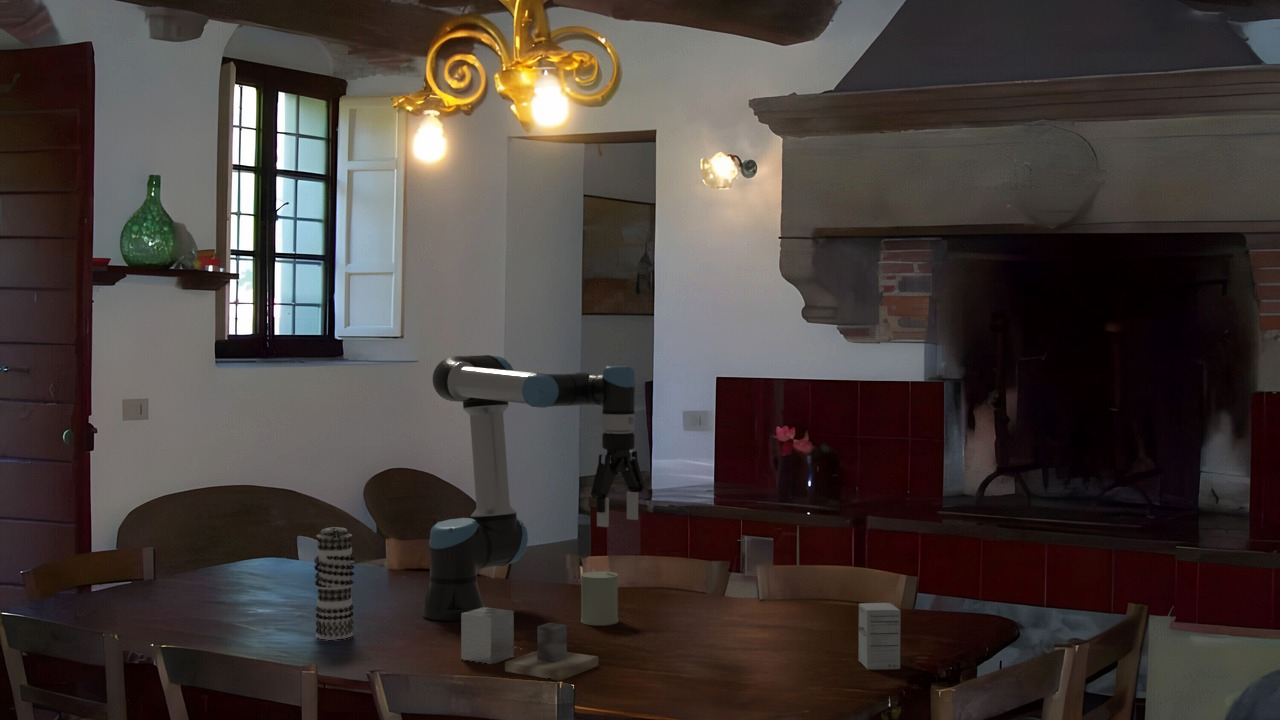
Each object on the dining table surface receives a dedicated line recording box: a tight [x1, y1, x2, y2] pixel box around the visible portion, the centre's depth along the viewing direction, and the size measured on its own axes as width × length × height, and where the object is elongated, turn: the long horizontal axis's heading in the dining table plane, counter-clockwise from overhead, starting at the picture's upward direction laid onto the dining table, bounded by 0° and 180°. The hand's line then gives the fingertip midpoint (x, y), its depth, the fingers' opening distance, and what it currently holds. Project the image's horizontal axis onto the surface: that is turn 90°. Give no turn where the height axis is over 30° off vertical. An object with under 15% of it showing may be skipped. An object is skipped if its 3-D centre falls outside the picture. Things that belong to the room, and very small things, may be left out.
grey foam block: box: [460, 606, 515, 665], centre depth 288 cm, size 8×8×10 cm
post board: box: [504, 622, 599, 682], centre depth 279 cm, size 14×14×9 cm
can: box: [580, 570, 619, 627], centre depth 326 cm, size 9×9×12 cm
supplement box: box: [858, 602, 902, 671], centre depth 283 cm, size 7×7×13 cm
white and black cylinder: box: [313, 526, 356, 639], centre depth 309 cm, size 9×9×25 cm
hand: (617, 523), depth 312 cm, fingers open, 13 cm apart
